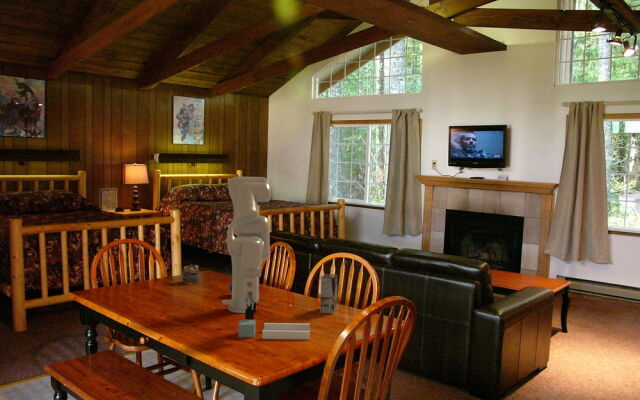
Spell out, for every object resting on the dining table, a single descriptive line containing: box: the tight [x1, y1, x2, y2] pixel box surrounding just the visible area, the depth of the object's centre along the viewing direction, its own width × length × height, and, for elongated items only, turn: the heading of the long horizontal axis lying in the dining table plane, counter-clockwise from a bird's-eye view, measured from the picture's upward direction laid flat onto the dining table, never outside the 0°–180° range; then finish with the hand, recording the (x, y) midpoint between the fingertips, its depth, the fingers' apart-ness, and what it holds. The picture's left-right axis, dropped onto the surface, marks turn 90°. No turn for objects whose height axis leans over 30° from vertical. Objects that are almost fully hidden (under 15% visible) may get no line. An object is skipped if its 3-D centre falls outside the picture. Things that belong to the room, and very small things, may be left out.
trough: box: [261, 322, 311, 341], centre depth 210 cm, size 18×10×3 cm, turn 92°
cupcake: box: [181, 263, 200, 283], centre depth 295 cm, size 10×10×10 cm
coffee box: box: [319, 273, 339, 315], centre depth 245 cm, size 9×6×16 cm
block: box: [237, 319, 256, 338], centre depth 210 cm, size 6×6×5 cm
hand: (250, 315), depth 209 cm, fingers open, 9 cm apart
